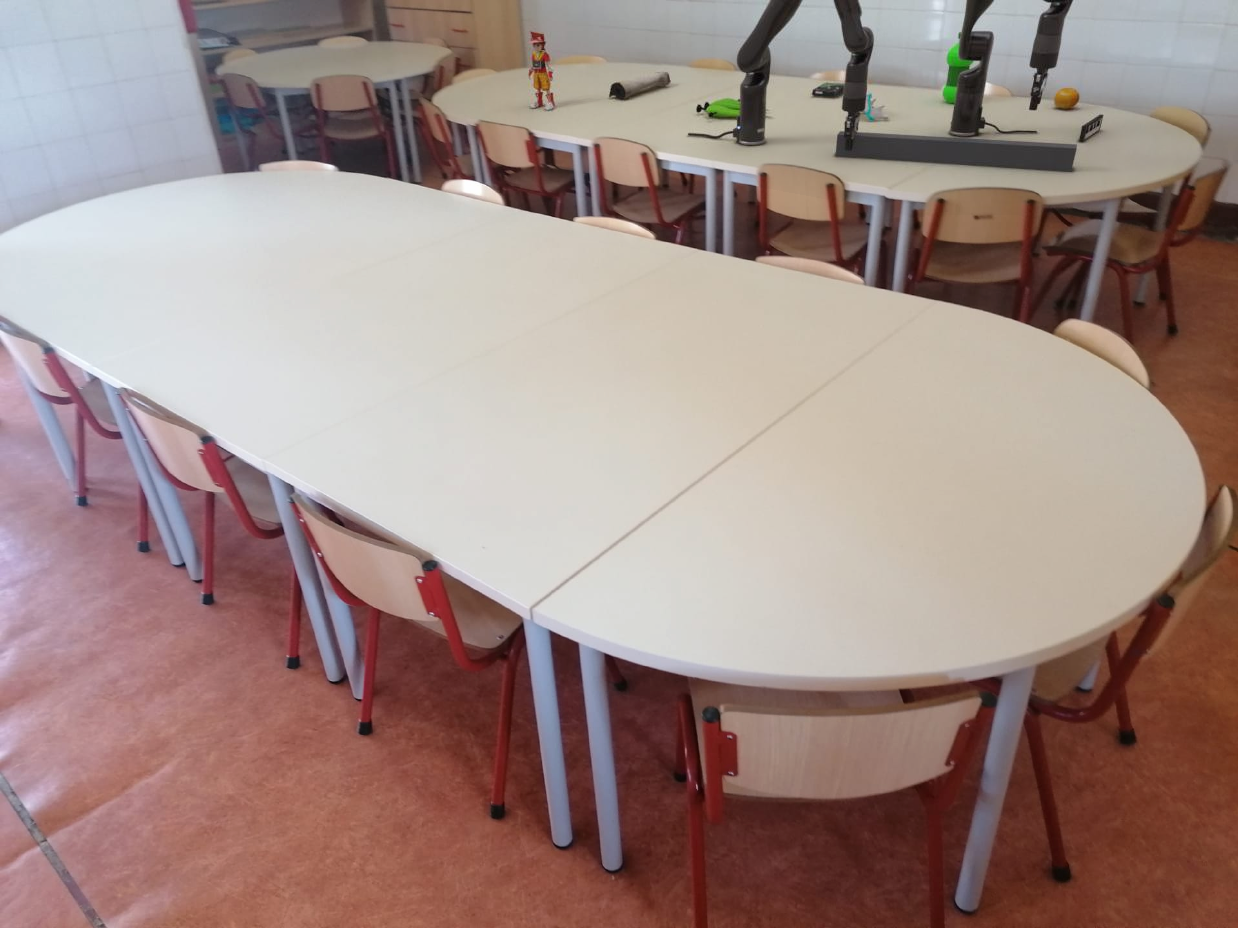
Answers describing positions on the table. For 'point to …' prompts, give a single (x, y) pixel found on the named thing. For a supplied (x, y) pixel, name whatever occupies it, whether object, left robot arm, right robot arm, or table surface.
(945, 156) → the post
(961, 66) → the plastic bottle
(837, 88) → the disk drive
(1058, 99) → the fruit
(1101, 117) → the midi keyboard
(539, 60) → the toy
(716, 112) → the toy
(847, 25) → the left robot arm
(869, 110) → the anatomical model
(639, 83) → the rolled mat
